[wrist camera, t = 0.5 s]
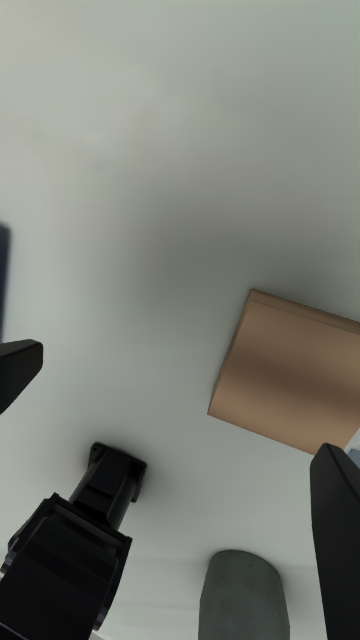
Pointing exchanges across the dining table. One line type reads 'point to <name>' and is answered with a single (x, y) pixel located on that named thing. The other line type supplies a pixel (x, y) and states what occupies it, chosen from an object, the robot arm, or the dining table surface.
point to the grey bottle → (242, 600)
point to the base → (291, 374)
